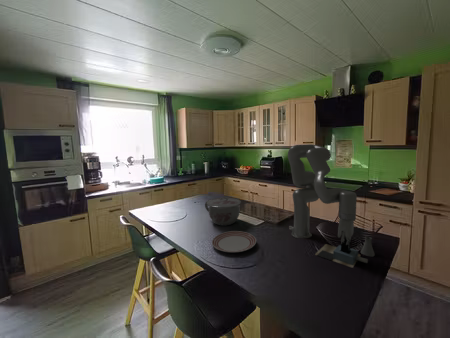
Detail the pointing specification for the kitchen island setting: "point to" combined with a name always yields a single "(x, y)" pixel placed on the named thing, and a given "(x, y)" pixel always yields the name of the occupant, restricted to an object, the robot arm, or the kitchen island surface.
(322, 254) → the rubber pad
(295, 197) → the robot arm
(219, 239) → the dinner plate
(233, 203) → the chamber pot
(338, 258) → the block
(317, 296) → the kitchen island surface
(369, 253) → the flask
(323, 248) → the bench board
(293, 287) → the kitchen island surface
